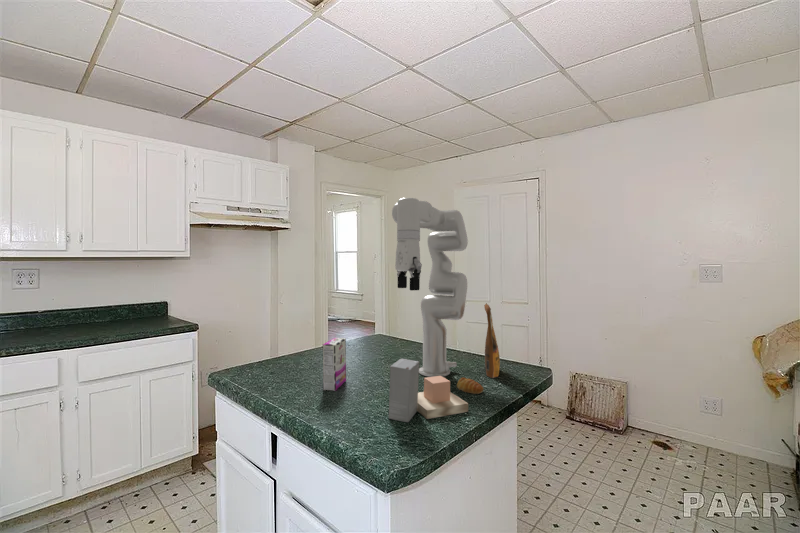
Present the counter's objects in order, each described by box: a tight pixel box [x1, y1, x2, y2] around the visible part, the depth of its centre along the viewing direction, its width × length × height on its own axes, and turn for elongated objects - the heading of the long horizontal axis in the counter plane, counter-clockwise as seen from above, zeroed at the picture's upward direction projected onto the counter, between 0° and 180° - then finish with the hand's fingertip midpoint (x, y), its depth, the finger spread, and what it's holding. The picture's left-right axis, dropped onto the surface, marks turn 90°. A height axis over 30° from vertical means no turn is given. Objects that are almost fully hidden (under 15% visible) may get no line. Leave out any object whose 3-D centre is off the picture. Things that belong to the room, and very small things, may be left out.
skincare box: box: [388, 358, 420, 423], centre depth 110 cm, size 8×7×16 cm
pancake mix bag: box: [484, 302, 501, 379], centre depth 153 cm, size 7×19×28 cm, turn 164°
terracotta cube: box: [423, 376, 451, 403], centre depth 117 cm, size 6×6×6 cm
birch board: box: [417, 391, 469, 420], centre depth 117 cm, size 14×14×2 cm
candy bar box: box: [322, 337, 347, 392], centre depth 135 cm, size 11×5×16 cm, turn 168°
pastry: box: [456, 377, 485, 395], centre depth 132 cm, size 9×7×4 cm
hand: (408, 289), depth 122 cm, fingers open, 9 cm apart
